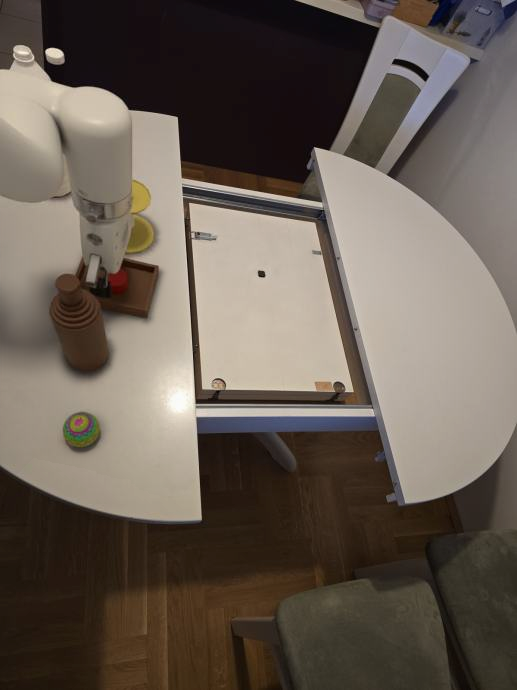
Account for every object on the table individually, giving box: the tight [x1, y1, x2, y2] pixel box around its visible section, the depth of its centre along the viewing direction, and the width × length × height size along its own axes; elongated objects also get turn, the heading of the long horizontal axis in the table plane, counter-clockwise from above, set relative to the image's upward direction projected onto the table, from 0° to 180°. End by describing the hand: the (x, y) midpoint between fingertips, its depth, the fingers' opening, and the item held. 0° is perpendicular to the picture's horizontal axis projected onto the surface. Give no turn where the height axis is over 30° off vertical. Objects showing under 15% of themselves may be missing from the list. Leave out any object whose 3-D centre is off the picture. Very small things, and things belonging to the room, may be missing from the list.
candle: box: [125, 178, 155, 254], centre depth 66 cm, size 10×10×27 cm
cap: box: [108, 269, 128, 294], centre depth 70 cm, size 4×4×3 cm
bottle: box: [48, 273, 110, 372], centre depth 56 cm, size 6×6×20 cm
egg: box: [62, 411, 101, 448], centre depth 56 cm, size 5×5×6 cm
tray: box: [74, 255, 160, 319], centre depth 70 cm, size 13×10×2 cm
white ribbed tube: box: [9, 44, 71, 198], centre depth 68 cm, size 9×6×25 cm
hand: (108, 271), depth 66 cm, fingers open, 9 cm apart
